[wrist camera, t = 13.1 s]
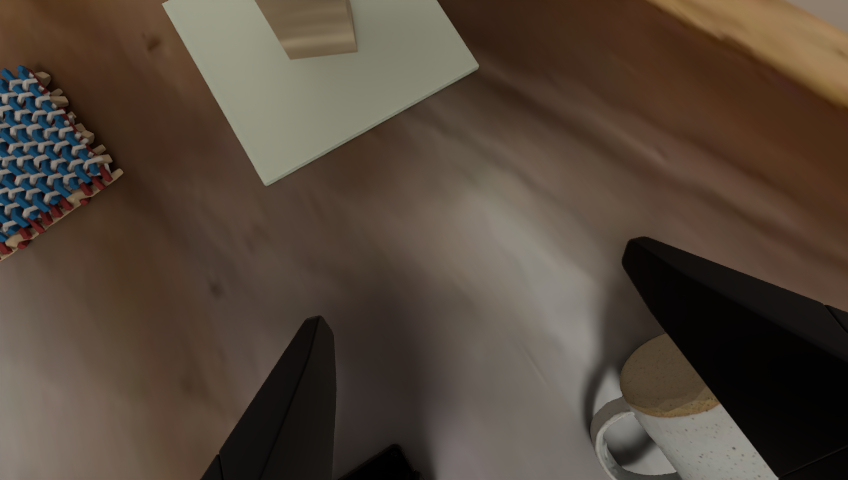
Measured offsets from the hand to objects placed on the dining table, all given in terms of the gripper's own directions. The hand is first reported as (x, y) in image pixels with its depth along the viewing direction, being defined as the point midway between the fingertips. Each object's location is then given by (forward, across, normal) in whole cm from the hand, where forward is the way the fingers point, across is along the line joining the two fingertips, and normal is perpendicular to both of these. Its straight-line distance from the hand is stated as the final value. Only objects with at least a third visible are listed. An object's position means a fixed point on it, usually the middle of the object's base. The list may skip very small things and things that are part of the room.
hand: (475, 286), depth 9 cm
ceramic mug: (+1, -12, +18) cm, 22 cm away
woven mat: (+19, +28, -2) cm, 34 cm away
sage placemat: (+23, +5, -5) cm, 24 cm away
